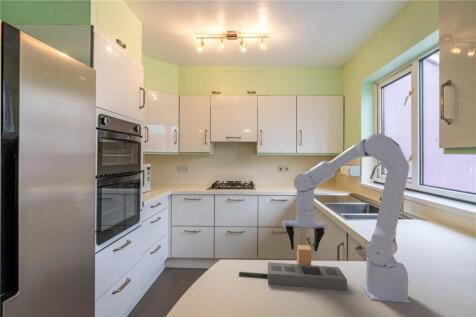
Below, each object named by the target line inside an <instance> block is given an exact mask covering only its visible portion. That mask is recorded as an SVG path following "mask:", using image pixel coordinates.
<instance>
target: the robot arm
mask: <svg viewBox="0 0 476 317" xmlns="http://www.w3.org/2000/svg"><path fill="white" fill-rule="evenodd" d="M371 157H372V158H374V159H376V160H377V161H378V162H379V163H380V164H381V165H382V166H383V167H384V169H385V170H386V171H387V172H386V175H385V181H384V185H383V191H382V195H381V201H380V205H379V209H378V214H377V219H376V225H375V227H374V230H373V232H372V234H371V239H370V240H369V242H368V243H367V244H366V245H365V247H364V249H365V250H364V251H365V252H364V253H365V255H366V269H365V270H366V274H365V276H366V277H365V281H366V282H365V283H360V287H361V288H362V289H363V291H364V292H365V293H366V294H367V296H368V297H369V299H371V300H372V301H380V302H381V301H383V302H396V303H405V304H409V303H410V299H408V297H409V294H408V293H409V274H408V271H407V268H406V266H405V265H404V264H403V263H401V262H399V261H397V260H396V258H395V257H394V255H395V254H396V253H397V251H398V243H397V240H396V238H397V226H398V223H399V218H400V214H401V209H402V208H401V207H402V203H403V199H404V195H405V191H406V187H407V186H406V185H407V180H408V176H409V171H410V164H409V161H408V160H407V158H406V156H405V154H404V152H403V150H402V147H401V145H400V144H399V143H397V141H395V140H394V139H393V138H392V137H390V136H387V135H386V134H383V133H373V134H370V135H369V136H368V137H367V138H363V139H361V140H359V141H358V142H356V143H355V144H352V146H351V147H349V148H347V149H346V150H344V151H343V152H341V153H340V154H339V155H338V156H336V157H334V158H333V159H331V160H330V161H327V160H323V161H318V162H316V165H315V166H313V167H312V168H310V169H306V170H305V173H298V174H297V175H296V176H295V178H294V180H293V185H294V188H295V189H296V202H295V204H296V206H295V219H293V220H282V228H284V229H285V230H286V233H287V235H288V238H289V241H290V248H291V250H292V251H294V250H295V249H294V248H295V244H294V242H295V241H294V239H295V237H294V236H295V230H294V228H295V229H297V228H298V229H310V230H311V229H313V233H314V235H313V236H314V238H313V249H314V250H313V251H314V252H318V248H319V245H320V242H321V241H322V238H324V235H325V231H328V223H327V222H320V221H314V218H315V216H314V211H315V210H314V209H315V208H314V207H315V189H316V188H317V187H318V186H319V185H321V184H323V183H324V182H326V181H328V180H330V179H331V178H333V177H335V175H336V171H337V170H339V169H340V168H342V167H344V166H346V165H348V164H350V163H351V162H354V161H355V160H358V159H359V158H371Z"/></svg>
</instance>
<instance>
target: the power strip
mask: <svg viewBox="0 0 476 317" xmlns="http://www.w3.org/2000/svg"><path fill="white" fill-rule="evenodd" d="M238 275H239V276H243V277H244V276H245V277H246V276H247V277H256V278H257V277H258V278H267V284H268V285H278V286H289V287H290V286H291V287H300V288H301V287H303V288H315V289H326V290H327V289H328V290H337V291H338V290H339V291H347V290H348V279H347V278H346V276H345V275H344V273H343V271H342V270H341V268H340V267H339V266H328V265H327V266H326V265H325V266H324V265H314V264H311V265H300V264H297V263H284V262H273V261H272V262H271V261H268V262H267V273H263V272H262V273H259V272H248V271H239V272H238Z"/></svg>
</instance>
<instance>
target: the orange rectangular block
mask: <svg viewBox="0 0 476 317" xmlns="http://www.w3.org/2000/svg"><path fill="white" fill-rule="evenodd" d="M296 246H297V247H296V264H300V265H312V248H311V247H310V245H304V244H297V245H296Z"/></svg>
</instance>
